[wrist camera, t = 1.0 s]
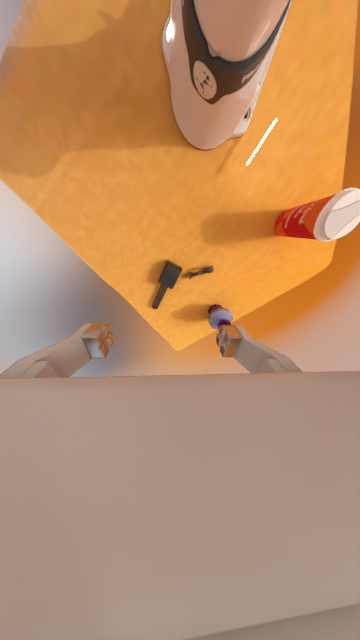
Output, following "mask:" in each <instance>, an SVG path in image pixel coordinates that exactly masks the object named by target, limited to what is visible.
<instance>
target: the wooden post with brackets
mask: <svg viewBox="0 0 360 640" xmlns="http://www.w3.org/2000/svg"><path fill="white" fill-rule="evenodd" d="M213 271H214V269H213V266H211V267H210V268H207V267H206V268H203V269H202V271H198V272H195V273H191V272H189V273H188V276H189V279H191V278H192V277H194V276H196V275H202V274H205V273H212V272H213Z"/></svg>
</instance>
